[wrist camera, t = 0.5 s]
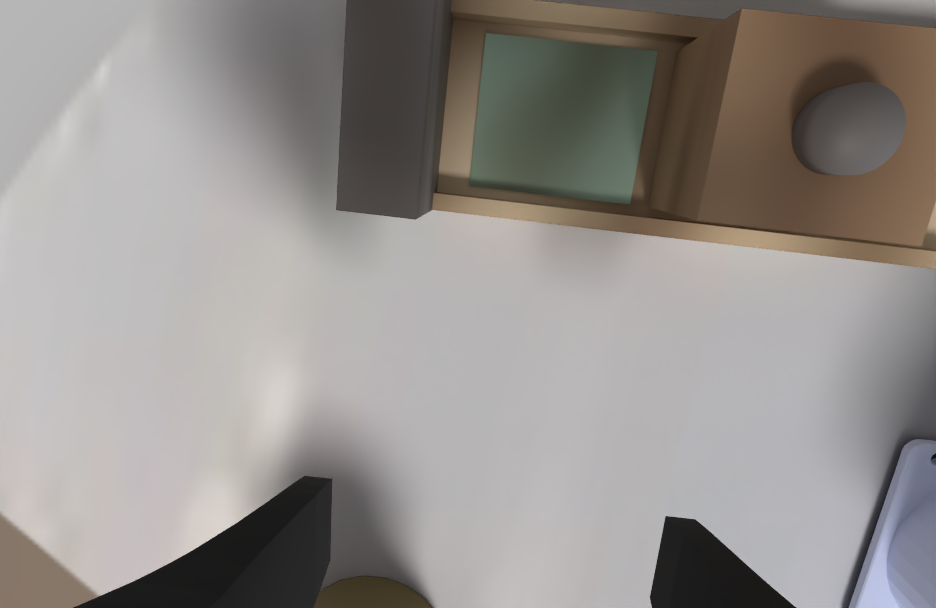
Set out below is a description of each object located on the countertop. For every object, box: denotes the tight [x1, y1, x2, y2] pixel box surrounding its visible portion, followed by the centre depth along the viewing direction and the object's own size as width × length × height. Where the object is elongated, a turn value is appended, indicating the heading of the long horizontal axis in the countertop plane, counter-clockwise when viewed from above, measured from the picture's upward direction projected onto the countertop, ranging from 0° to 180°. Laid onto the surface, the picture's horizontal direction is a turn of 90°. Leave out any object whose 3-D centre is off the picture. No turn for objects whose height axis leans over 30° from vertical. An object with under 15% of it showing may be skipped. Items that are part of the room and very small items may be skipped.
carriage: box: [648, 8, 936, 247], centre depth 14 cm, size 5×4×5 cm
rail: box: [336, 0, 936, 269], centre depth 15 cm, size 18×6×5 cm, turn 84°
